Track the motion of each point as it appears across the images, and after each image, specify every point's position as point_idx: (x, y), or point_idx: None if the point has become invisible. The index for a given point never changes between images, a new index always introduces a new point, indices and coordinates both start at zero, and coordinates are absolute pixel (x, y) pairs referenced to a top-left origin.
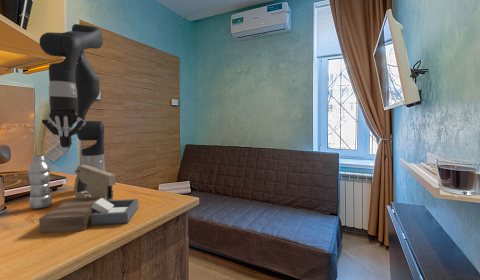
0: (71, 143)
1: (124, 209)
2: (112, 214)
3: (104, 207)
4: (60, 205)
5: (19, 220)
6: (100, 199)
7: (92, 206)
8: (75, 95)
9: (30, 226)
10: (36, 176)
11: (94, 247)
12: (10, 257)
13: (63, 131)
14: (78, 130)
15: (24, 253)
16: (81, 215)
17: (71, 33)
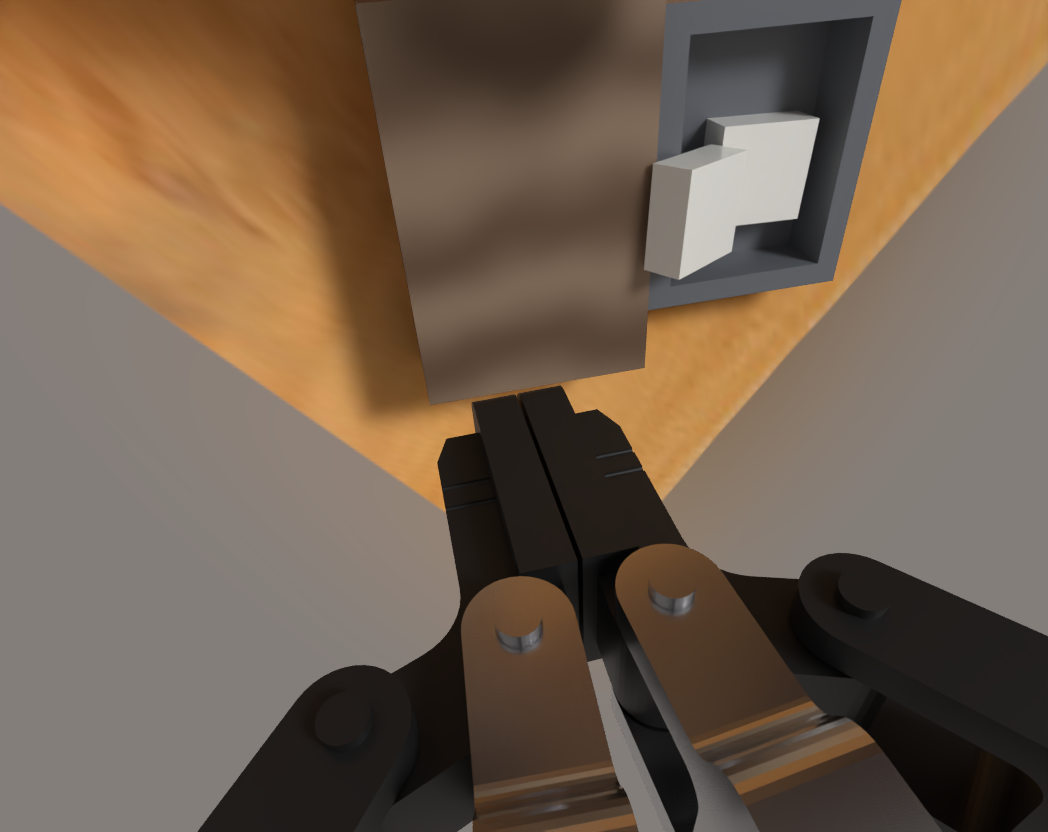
0: (623, 438)
1: (801, 169)
2: (756, 290)
3: (716, 255)
4: (393, 202)
5: (113, 199)
6: (691, 204)
7: (652, 270)
8: None
9: (294, 289)
10: None
11: (705, 446)
12: None
13: (536, 739)
14: (993, 660)
15: None
16: (627, 362)
17: None
